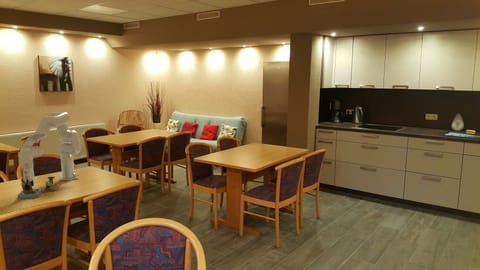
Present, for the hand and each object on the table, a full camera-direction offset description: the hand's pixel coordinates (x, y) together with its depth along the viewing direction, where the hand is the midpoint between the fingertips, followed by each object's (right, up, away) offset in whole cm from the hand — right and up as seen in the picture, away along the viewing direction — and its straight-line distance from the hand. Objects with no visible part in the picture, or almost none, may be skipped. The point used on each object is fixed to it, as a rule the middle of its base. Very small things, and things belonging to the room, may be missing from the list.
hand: (29, 188), depth 256 cm
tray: (0, -6, +1) cm, 6 cm away
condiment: (0, -4, +1) cm, 4 cm away
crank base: (+3, -4, +13) cm, 13 cm away
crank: (+6, -1, +18) cm, 19 cm away
